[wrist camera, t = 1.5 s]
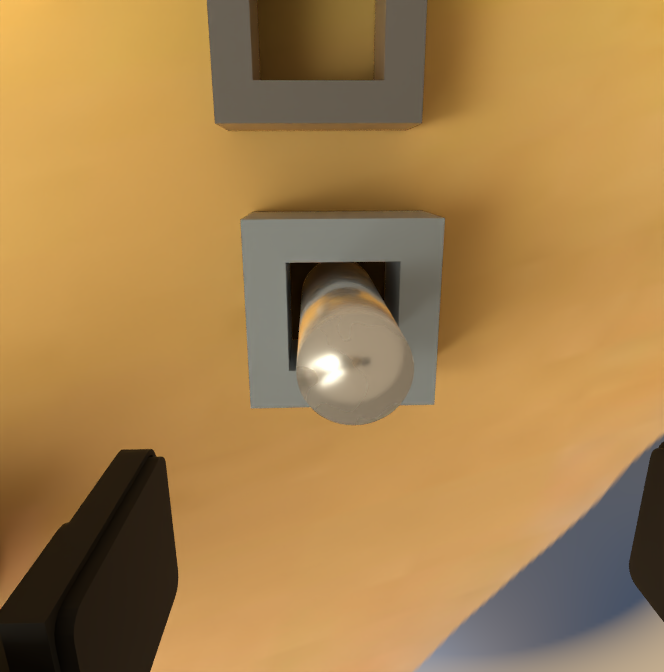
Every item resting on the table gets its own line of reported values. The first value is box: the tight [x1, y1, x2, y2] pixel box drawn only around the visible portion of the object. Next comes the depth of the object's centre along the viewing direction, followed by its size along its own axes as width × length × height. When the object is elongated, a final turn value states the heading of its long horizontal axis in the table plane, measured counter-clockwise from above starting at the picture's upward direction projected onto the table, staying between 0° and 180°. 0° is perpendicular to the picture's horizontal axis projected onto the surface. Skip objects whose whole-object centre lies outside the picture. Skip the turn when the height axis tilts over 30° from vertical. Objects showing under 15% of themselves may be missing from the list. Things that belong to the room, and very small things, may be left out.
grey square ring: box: [207, 0, 427, 131], centre depth 23 cm, size 9×9×4 cm
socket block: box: [241, 211, 445, 408], centre depth 27 cm, size 9×9×5 cm
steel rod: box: [296, 262, 414, 425], centre depth 24 cm, size 4×4×12 cm
